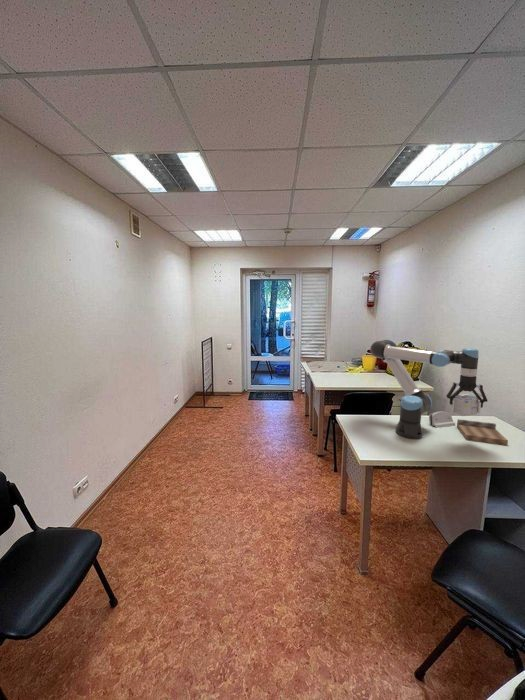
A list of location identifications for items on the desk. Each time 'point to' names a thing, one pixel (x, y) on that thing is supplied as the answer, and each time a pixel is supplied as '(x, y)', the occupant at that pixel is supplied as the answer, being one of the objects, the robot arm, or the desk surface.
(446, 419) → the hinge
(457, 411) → the light bulb box
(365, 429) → the desk surface
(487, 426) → the walnut stand
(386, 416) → the desk surface
